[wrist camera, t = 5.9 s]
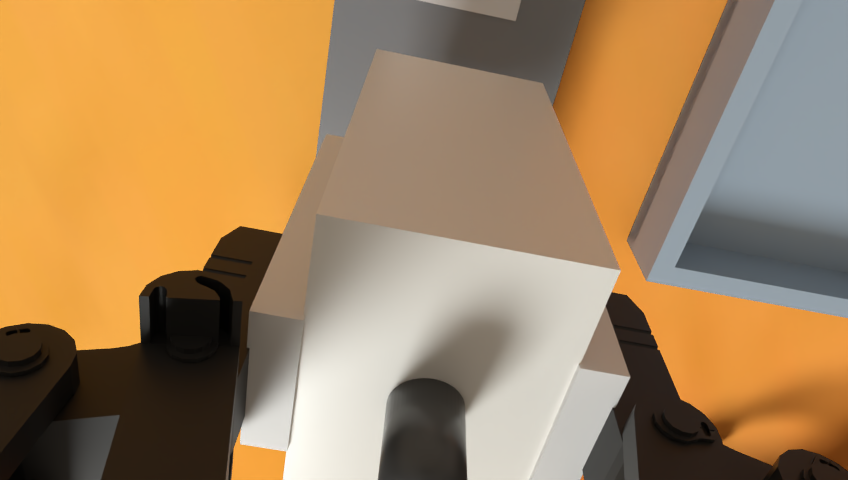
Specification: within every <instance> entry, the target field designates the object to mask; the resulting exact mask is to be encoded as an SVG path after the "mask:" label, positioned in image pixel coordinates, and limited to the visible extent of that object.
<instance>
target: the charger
mask: <svg viewBox="0 0 848 480" xmlns="http://www.w3.org/2000/svg"><path fill="white" fill-rule="evenodd" d="M620 271H621V270H620V268H619V265H618V263H617V260H616V258H615V256H614V253H613V251H612V248H611V246H610V244H609V241H608V239H607V236H606V234H605V232H604V229H603V227H602V224H601V222H600V220H599V217H598V215H597V212H596V210H595V207H594V205H593V203H592V200H591V198H590V195H589V193H588V191H587V188H586V186H585V183H584V181H583V179H582V176H581V174H580V171H579V169H578V167H577V164H576V162H575V159H574V157H573V155H572V152H571V150H570V147H569V145H568V143H567V140H566V138H565V135H564V133H563V131H562V128H561V126H560V123H559V121H558V119H557V116H556V114H555V111H554V109H553V107H552V104H551V102H550V99H549V97H548V94H547V92H546V90H545V87H544V85H543V83H539V82H535V81H530V80H525V79H520V78H515V77H510V76H506V75H501V74H496V73H491V72H486V71H481V70H477V69H472V68H467V67H462V66H457V65H452V64H448V63H443V62H438V61H433V60H428V59H423V58H418V57H414V56H409V55H404V54H399V53H394V52H389V51H385V50H380V49H377V50H376V52H375V55H374V58H373V60H372V63H371V66H370V69H369V71H368V74H367V77H366V79H365V82H364V85H363V88H362V90H361V93H360V96H359V99H358V101H357V104H356V107H355V109H354V112H353V115H352V118H351V120H350V123H349V126H348V128H347V131H346V134H345V137H344V139H343V142H342V145H341V148H340V150H339V153H338V156H337V158H336V161H335V164H334V167H333V169H332V172H331V175H330V178H329V180H328V183H327V186H326V188H325V191H324V194H323V197H322V199H321V202H320V205H319V207H318V210H317V213H316V219H315V227H314V235H313V243H312V251H311V259H310V267H309V275H308V283H307V291H306V299H305V307H304V315H303V316H305V321H304V329H303V337H302V345H301V352H300V360H299V368H298V376H297V384H296V392H295V400H294V408H293V416H292V424H291V432H290V439H289V447H288V451H286V459H285V467H284V475H283V480H529V478H530V476H531V474H532V471H533V469H534V467H535V464H536V462H537V460H538V457H539V455H540V453H541V450H542V448H543V446H544V443H545V441H546V439H547V436H548V434H549V432H550V429H551V427H552V425H553V422H554V420H555V418H556V415H557V413H558V411H559V408H560V406H561V404H562V401H563V399H564V397H565V394H566V392H567V390H568V387H569V385H570V383H571V380H572V378H573V376H574V373H575V371H576V369H577V366H578V364H581V362H582V359H583V357H584V355H585V352H586V350H587V348H588V345H589V343H590V341H591V338H592V336H593V334H594V331H595V329H596V327H597V324H598V322H599V320H600V317H601V315H602V313H603V311H604V308H605V306H606V304H607V301H608V299H609V297H610V294H611V292H612V290H613V287H614V285H615V283H616V280H617V278H618V276H619V273H620Z"/></svg>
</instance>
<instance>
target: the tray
mask: <svg viewBox="0 0 848 480" xmlns="http://www.w3.org/2000/svg"><path fill="white" fill-rule="evenodd" d="M627 242H628V244H629V246H630V248H631V250H632V252H633V254H634V256H635V258H636V260H637V263H638V265H639V267H640V269H641V271H642V273H643V275H644V277H645V279H646V281H649V282H655V283H660V284H666V285H671V286H677V287H682V288H688V289H693V290H698V291H704V292H709V293H715V294H720V295H726V296H731V297H737V298H742V299H748V300H753V301H758V302H764V303H769V304H775V305H780V306H786V307H791V308H797V309H802V310H808V311H813V312H818V313H824V314H829V315H835V316H840V317H846V318H848V0H728V2H727V4H726V6H725V9H724V11H723V14H722V16H721V18H720V21H719V23H718V25H717V28H716V30H715V33H714V35H713V37H712V40H711V42H710V44H709V47H708V49H707V51H706V54H705V56H704V59H703V61H702V63H701V66H700V68H699V70H698V73H697V75H696V78H695V80H694V82H693V85H692V87H691V89H690V92H689V94H688V97H687V99H686V101H685V104H684V106H683V108H682V111H681V113H680V115H679V118H678V120H677V123H676V125H675V127H674V130H673V132H672V134H671V137H670V139H669V142H668V144H667V146H666V149H665V151H664V153H663V156H662V158H661V161H660V163H659V165H658V168H657V170H656V172H655V175H654V177H653V179H652V182H651V184H650V187H649V189H648V191H647V194H646V196H645V198H644V201H643V203H642V206H641V208H640V210H639V213H638V215H637V217H636V220H635V222H634V224H633V227H632V229H631V232H630V234H629V236H628V239H627Z"/></svg>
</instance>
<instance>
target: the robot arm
mask: <svg viewBox="0 0 848 480" xmlns="http://www.w3.org/2000/svg"><path fill="white" fill-rule="evenodd" d="M343 139H344V137H340V136H335V135H330V134H326V136H325V138H324V140H323V143H322V145H321V147H320V150H319V152H318V154H317V157H316V159H315V161H314V163H313V166H312V168H311V170H310V173H309V175H308V177H307V179H306V182H305V184H304V186H303V189H302V191H301V193H300V196H299V198H298V200H297V202H296V205H295V207H294V209H293V212H292V214H291V216H290V219H289V221H288V223H287V225H286V228H285V230H284V232H283V234H280V233H275V232H269V231H264V230H258V229H253V228H247V227H242V226H240V227H238V228H237V229H235V230H233V231H232V232H230V233H229V234H227V235H225V236H224V237H222V238H221V239H220V241H219V243H218V244H217V246H216V248H215V249H214V251H213V253H212V255H211V258H209V259H208V261H207V263H206V265H205V266H204V269H203V271H199V270H194V271H178V272H174V273H171V274H167V275H163V276H160V277H159V278H157V279H155V280H154V281H152V282H151V283H149V284H147V285H146V287H145V288H144V290H143V291H142V292H141V294H140V295H139V308H140V331H141V343H138V344H134V345H131V346H126V347H119V348H110V349H94V350H77V351H76V345H75V340H74V339H73V338H72V337H71V336H70V335H69V334H68V333H67V332H66V331H65V330H62V329H59V328H56V327H54V326H51V325H46V324H31V323H27V324H20V325H14V326H7V327H4V328H1V329H0V480H231V476H232V464H233V448H234V445H235V443H236V440H237V437H238V434H239V431H240V429H241V438H240V444H243V445H249V446H255V447H262V448H268V449H274V450H281V451H288V447H289V439H290V432H291V424H292V416H293V408H294V400H295V392H296V384H297V376H298V368H299V360H300V352H301V345H302V337H303V329H304V321H305V316H303V315H304V307H305V299H306V291H307V283H308V275H309V267H310V259H311V251H312V243H313V235H314V227H315V219H316V213H317V210H318V207H319V205H320V202H321V199H322V197H323V194H324V191H325V188H326V186H327V183H328V180H329V178H330V175H331V172H332V169H333V167H334V164H335V161H336V158H337V156H338V153H339V150H340V148H341V145H342V142H343ZM657 348H658V346H657V343H656V341H655V339H654V336H653V335H651V329H650V327H649V325H648V322H647V320H646V318H645V315H644V313H643V312H642V311H641V310H640V309H639V308H638V307H637V306H636V305H635V303H634V302H633V301H632V300H631V299H630V298H629V297H628V296H627V295H623V294H617V293H612V292H611V294H610V297H609V299H608V301H607V304H606V306H605V308H604V311H603V313H602V315H601V317H600V320H599V322H598V324H597V327H596V329H595V331H594V334H593V336H592V338H591V341H590V343H589V345H588V348H587V350H586V352H585V355H584V357H583V359H582V362H581V364H578V366H577V369H576V371H575V373H574V376H573V378H572V380H571V383H570V385H569V387H568V390H567V392H566V394H565V397H564V399H563V401H562V404H561V406H560V408H559V411H558V413H557V415H556V418H555V420H554V422H553V425H552V427H551V429H550V432H549V434H548V436H547V439H546V441H545V443H544V446H543V448H542V450H541V453H540V455H539V457H538V460H537V462H536V464H535V467H534V469H533V471H532V474H531V476H530V478H529V480H580V479H581V477H582V475H583V476H584V480H848V471H846V470H845V469H844V468H843V467H841V466H840V465H839V464H837V463H835V462H833V461H832V460H830V459H828V458H826V457H824V456H822V455H820V454H817V453H813V452H810V451H806V450H803V449H800V450H788V451H786V452H785V453H783V454H782V455H780V456H779V458H778V459H777V461H776V462H775V463H774V465H773V466H771V465H769V464H767V463H764V462H762V461H759V460H757V459H754V458H752V457H750V456H747V455H745V454H742V453H740V452H738V451H735V450H733V449H731V448H729V447H727V446H725V445H723V443H722V440H721V437H720V435H719V433H718V431H717V429H716V427H715V426H714V425H713V423H712V422H711V421H710V420H709V419H708V418H707V417H706V416H705V414H703V413H702V412H700V411H699V410H698V409H696V408H695V407H693V406H692V405H691V404H689V403H687V402H684V401H682V400H680V397H679V395H678V393H677V390H676V388H675V386H674V383H673V381H672V379H671V376H670V374H669V372H668V369H667V367H666V365H665V362H664V360H663V357H662V355H661V353H660V350H657Z"/></svg>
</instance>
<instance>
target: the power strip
mask: <svg viewBox="0 0 848 480" xmlns="http://www.w3.org/2000/svg"><path fill="white" fill-rule="evenodd" d="M585 1H586V0H335V3H334V11H333V19H332V28H331V36H330V45H329V53H328V61H327V70H326V78H325V87H324V95H323V103H322V112H321V120H320V129H319V137H318V145H317V154H318V152H319V150H320V147H321V145H322V143H323V140H324V138H325V136H326V134H330V135H335V136H340V137H345V134H346V131H347V128H348V126H349V123H350V120H351V118H352V115H353V112H354V109H355V107H356V104H357V101H358V99H359V96H360V93H361V90H362V88H363V85H364V82H365V79H366V77H367V74H368V71H369V69H370V66H371V63H372V60H373V58H374V55H375V52H376V50H377V49H380V50H385V51H389V52H394V53H399V54H404V55H409V56H414V57H418V58H423V59H428V60H433V61H438V62H443V63H448V64H452V65H457V66H462V67H467V68H472V69H477V70H481V71H486V72H491V73H496V74H501V75H506V76H510V77H515V78H520V79H525V80H530V81H535V82H539V83H543V85H544V87H545V90H546V92H547V94H548V97H549V99H550V102H551V104H552V106H553V103H554V100H555V97H556V93H557V90H558V87H559V84H560V81H561V77H562V74H563V71H564V68H565V65H566V61H567V58H568V55H569V52H570V49H571V45H572V42H573V39H574V36H575V33H576V29H577V26H578V23H579V20H580V17H581V13H582V10H583V7H584V4H585ZM317 154H316V157H317Z"/></svg>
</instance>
